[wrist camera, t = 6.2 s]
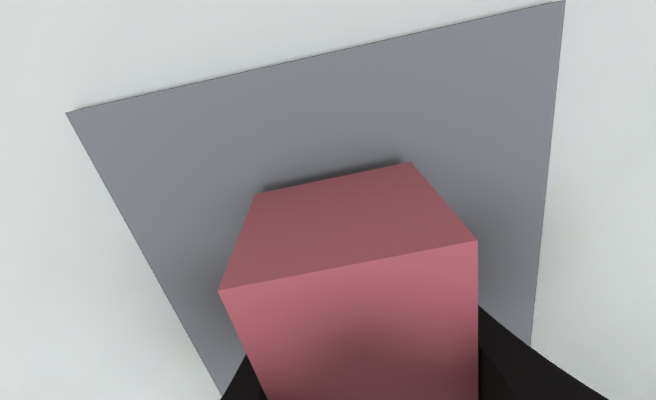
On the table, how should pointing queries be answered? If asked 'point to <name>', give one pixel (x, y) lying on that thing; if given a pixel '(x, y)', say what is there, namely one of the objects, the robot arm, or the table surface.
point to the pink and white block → (357, 290)
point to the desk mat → (340, 155)
